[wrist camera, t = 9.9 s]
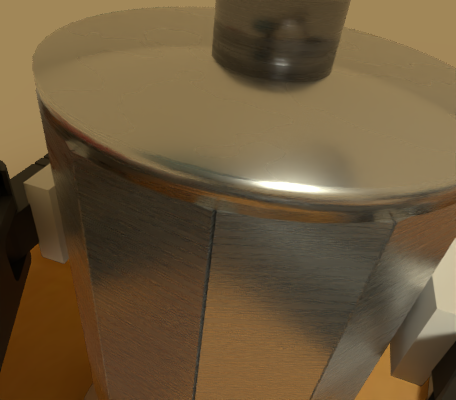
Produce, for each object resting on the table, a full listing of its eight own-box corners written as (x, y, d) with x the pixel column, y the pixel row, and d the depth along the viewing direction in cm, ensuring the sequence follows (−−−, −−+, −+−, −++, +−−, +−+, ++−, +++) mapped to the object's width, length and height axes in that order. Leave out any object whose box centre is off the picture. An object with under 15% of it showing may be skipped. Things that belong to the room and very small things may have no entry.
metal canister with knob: (360, 328, 18) (529, 4, 10) (286, 580, 11) (672, 180, 3) (184, 246, 21) (201, -55, 13) (37, 402, 14) (-135, -44, 6)
